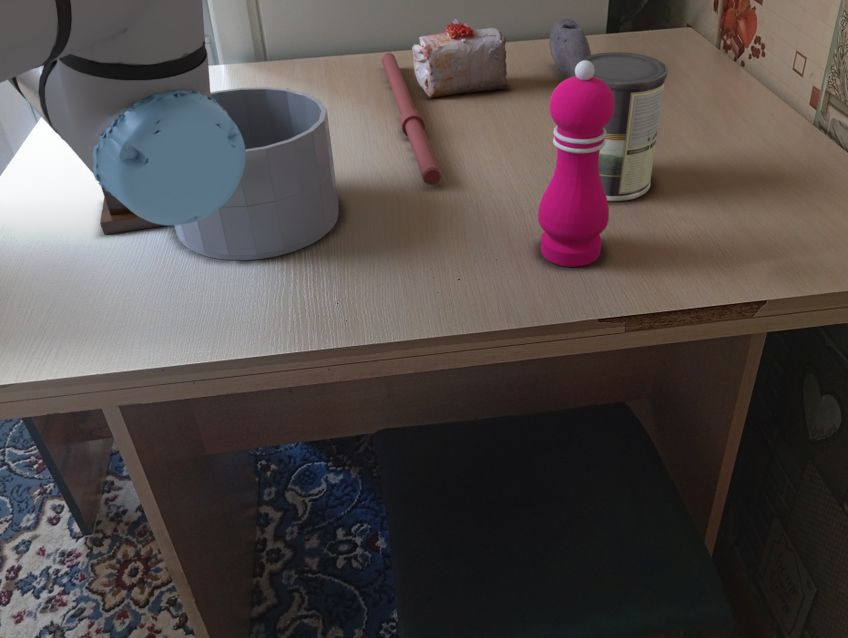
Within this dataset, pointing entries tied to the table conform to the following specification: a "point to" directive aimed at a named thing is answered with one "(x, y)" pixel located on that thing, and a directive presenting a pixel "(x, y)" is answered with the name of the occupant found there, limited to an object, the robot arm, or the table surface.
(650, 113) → the coffee can
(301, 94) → the pot
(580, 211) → the pepper mill
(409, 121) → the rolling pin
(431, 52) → the food item
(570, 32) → the perforated stone tool
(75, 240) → the table surface
